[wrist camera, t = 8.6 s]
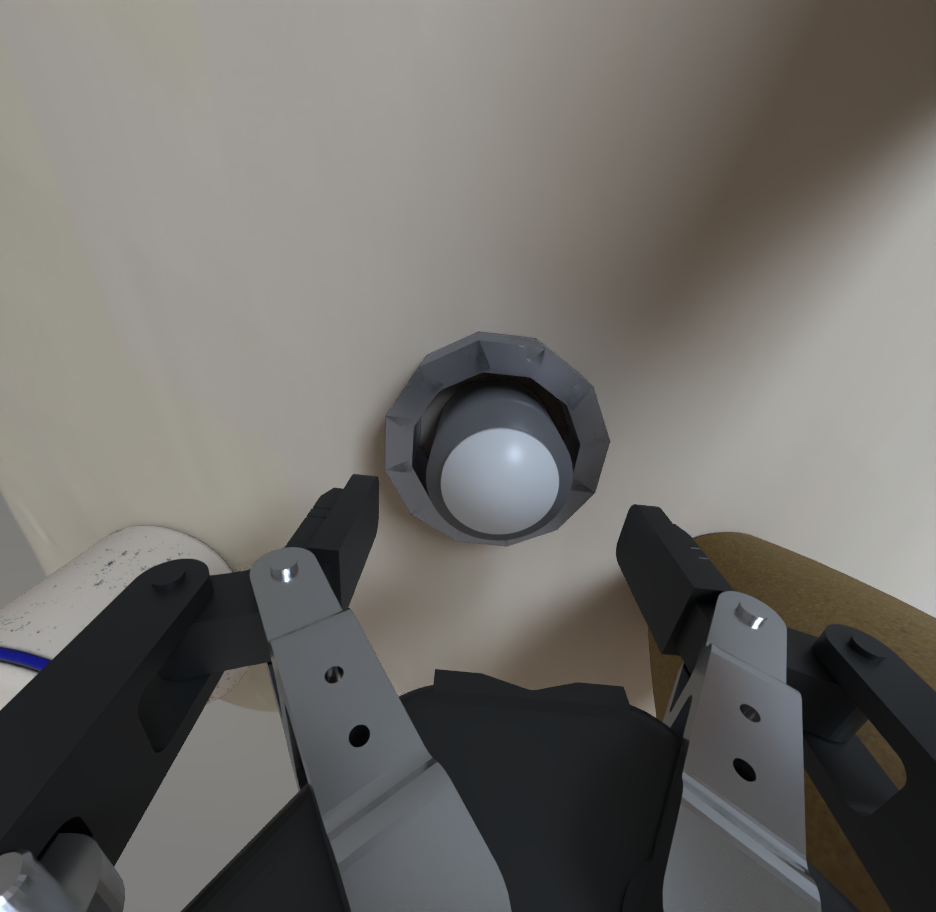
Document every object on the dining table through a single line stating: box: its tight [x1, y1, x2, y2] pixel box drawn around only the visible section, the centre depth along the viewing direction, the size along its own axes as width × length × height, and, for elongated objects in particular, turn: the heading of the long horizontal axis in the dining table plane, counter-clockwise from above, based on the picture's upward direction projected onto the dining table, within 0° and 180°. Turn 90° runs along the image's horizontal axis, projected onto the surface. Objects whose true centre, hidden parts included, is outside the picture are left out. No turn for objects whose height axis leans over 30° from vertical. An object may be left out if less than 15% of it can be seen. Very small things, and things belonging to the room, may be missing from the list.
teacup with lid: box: [0, 526, 249, 710], centre depth 18 cm, size 12×9×12 cm
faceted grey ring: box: [385, 332, 610, 546], centre depth 18 cm, size 10×10×3 cm
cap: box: [426, 378, 573, 541], centre depth 17 cm, size 6×6×5 cm
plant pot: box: [648, 532, 936, 912], centre depth 16 cm, size 15×15×16 cm
